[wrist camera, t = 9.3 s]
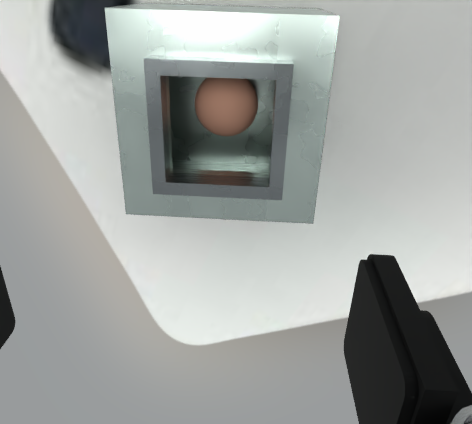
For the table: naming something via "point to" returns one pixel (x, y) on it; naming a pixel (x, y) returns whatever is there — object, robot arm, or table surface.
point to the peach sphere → (226, 105)
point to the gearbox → (190, 128)
